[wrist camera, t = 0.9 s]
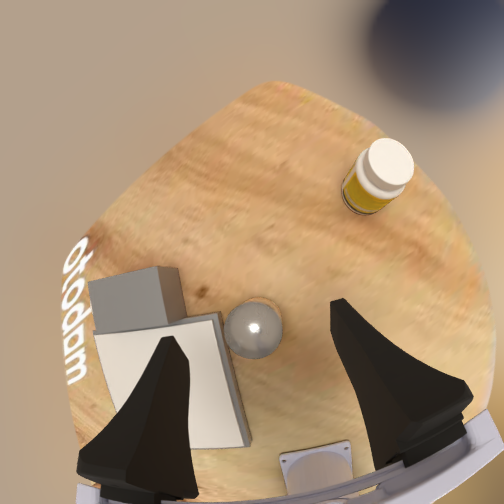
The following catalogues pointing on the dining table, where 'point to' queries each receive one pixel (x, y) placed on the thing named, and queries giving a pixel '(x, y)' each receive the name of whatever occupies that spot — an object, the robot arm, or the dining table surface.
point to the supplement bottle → (377, 176)
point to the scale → (147, 338)
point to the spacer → (254, 328)
